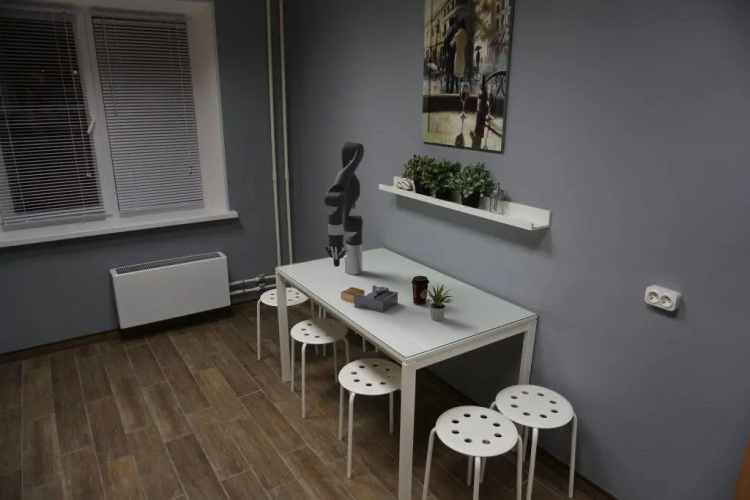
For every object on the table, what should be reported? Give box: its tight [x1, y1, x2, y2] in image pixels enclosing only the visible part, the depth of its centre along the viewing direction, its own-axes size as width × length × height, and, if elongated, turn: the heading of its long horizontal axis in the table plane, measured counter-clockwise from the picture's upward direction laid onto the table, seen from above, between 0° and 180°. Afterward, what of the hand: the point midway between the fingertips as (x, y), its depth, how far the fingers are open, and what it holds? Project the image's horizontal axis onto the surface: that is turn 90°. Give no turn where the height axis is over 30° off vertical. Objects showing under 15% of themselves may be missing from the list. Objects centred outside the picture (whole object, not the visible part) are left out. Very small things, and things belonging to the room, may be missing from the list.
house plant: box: [424, 283, 453, 322], centre depth 222 cm, size 14×14×16 cm
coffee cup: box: [411, 275, 430, 306], centre depth 241 cm, size 9×8×13 cm
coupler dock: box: [353, 284, 399, 313], centre depth 240 cm, size 16×17×9 cm
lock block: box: [340, 286, 366, 304], centre depth 248 cm, size 8×9×4 cm
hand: (336, 266), depth 249 cm, fingers closed
